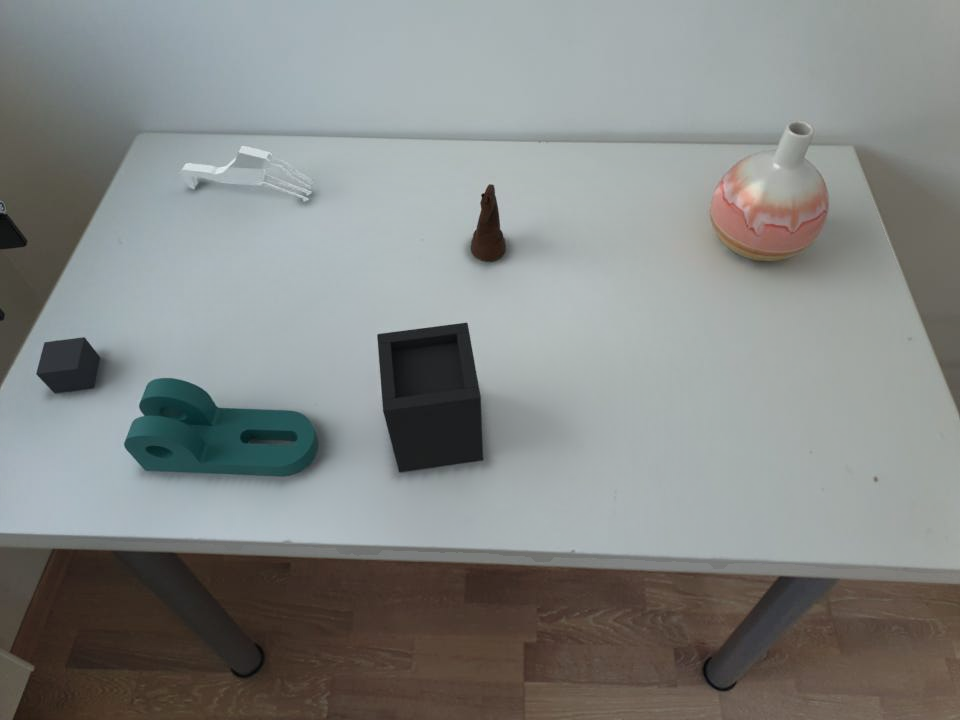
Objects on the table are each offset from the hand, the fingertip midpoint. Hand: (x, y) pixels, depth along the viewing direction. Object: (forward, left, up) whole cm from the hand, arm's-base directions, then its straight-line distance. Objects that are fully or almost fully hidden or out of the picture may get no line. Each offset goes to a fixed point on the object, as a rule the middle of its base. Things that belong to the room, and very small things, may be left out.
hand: (1, 281), depth 70 cm
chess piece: (+52, +2, -16) cm, 54 cm away
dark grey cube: (0, 0, -16) cm, 16 cm away
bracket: (+16, -16, -16) cm, 28 cm away
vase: (+85, -9, -16) cm, 87 cm away
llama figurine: (+24, +24, -16) cm, 38 cm away
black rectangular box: (+37, -22, -16) cm, 46 cm away
